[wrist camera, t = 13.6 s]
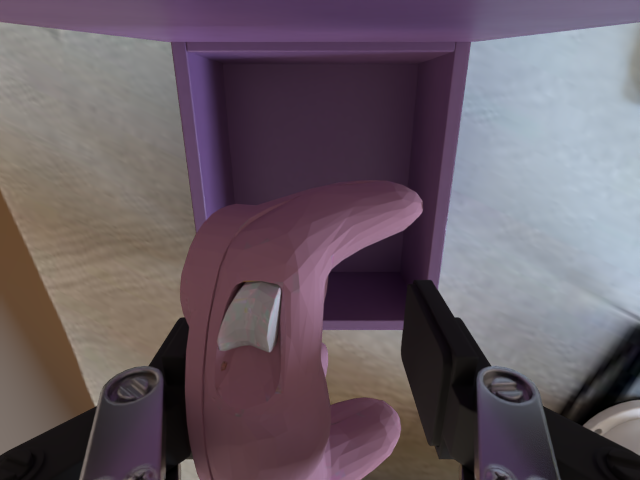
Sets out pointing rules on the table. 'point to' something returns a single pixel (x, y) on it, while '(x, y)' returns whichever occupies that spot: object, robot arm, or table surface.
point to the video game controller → (281, 336)
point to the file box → (329, 145)
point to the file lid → (320, 18)
